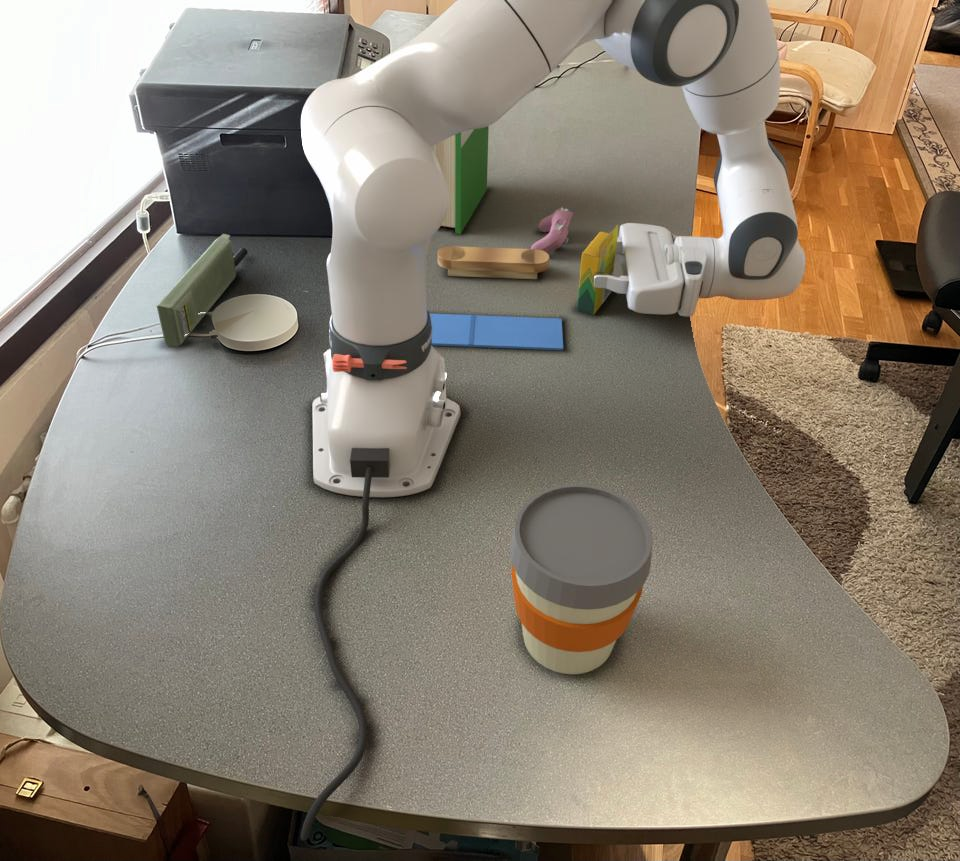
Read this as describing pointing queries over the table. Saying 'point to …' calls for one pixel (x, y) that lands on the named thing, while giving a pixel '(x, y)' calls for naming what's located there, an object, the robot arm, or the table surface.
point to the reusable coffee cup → (577, 573)
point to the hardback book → (463, 173)
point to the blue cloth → (497, 331)
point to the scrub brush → (493, 262)
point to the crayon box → (596, 260)
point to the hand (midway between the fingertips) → (592, 263)
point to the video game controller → (554, 230)
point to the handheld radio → (198, 290)
